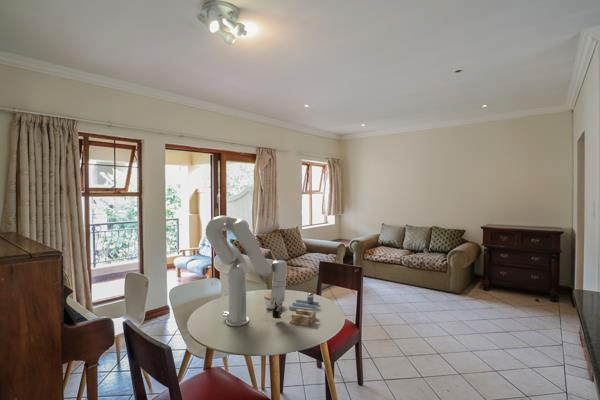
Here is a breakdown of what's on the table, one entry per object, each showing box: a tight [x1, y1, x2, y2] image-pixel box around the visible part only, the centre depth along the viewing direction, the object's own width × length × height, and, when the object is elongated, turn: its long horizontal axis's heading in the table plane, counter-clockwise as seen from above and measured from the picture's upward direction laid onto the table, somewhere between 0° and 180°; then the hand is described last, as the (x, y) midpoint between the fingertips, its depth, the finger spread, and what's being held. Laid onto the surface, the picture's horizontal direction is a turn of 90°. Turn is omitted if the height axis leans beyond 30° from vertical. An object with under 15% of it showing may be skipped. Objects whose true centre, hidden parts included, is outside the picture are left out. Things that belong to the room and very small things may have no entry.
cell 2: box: [306, 292, 315, 305], centre depth 184 cm, size 4×4×8 cm
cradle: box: [289, 309, 317, 327], centre depth 164 cm, size 12×10×4 cm
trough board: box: [288, 298, 320, 312], centre depth 182 cm, size 16×13×3 cm
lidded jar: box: [263, 292, 273, 310], centre depth 184 cm, size 11×11×9 cm
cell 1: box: [275, 304, 282, 319], centre depth 164 cm, size 4×4×8 cm
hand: (277, 315), depth 164 cm, fingers closed on cell 1, 3 cm apart
